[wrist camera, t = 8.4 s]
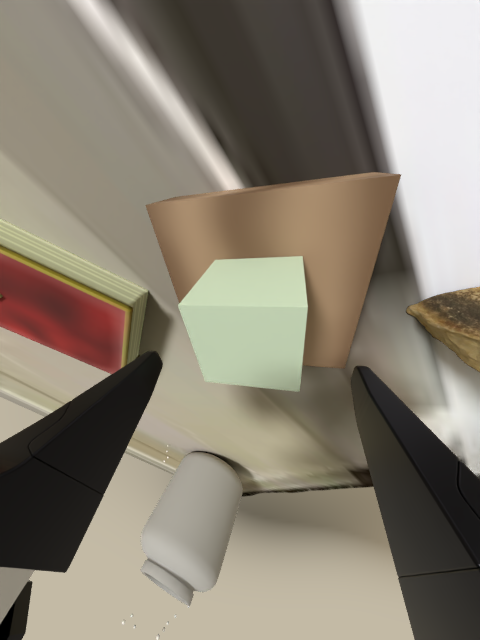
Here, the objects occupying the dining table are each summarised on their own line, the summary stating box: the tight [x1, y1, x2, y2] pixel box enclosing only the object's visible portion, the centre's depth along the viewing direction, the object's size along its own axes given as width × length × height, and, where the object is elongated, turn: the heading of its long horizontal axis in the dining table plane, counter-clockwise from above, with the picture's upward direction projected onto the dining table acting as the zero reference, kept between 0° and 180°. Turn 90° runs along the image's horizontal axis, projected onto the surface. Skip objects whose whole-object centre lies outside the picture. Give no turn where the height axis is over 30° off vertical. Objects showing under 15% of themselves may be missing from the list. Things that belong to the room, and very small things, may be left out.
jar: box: [122, 445, 243, 640], centre depth 36 cm, size 19×15×25 cm
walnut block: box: [146, 172, 401, 368], centre depth 15 cm, size 12×12×4 cm
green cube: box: [178, 256, 308, 392], centre depth 11 cm, size 5×5×5 cm
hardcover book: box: [0, 219, 149, 374], centre depth 20 cm, size 12×21×4 cm, turn 65°
